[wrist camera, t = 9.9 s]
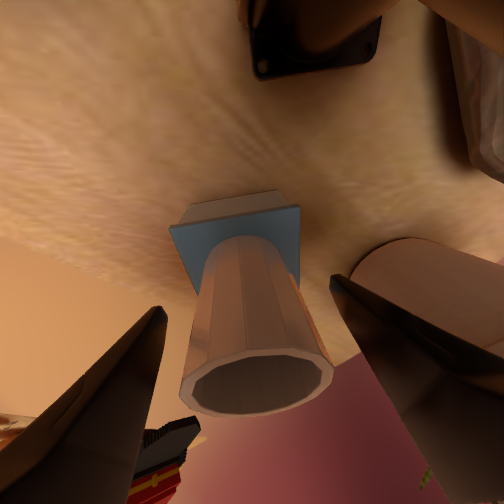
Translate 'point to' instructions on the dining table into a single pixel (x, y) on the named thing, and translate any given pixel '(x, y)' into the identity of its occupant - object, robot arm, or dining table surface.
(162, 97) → the dining table surface
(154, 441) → the toy playset
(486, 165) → the decorative rock
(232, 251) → the beige hollow cylinder
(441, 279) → the potted plant
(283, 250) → the box
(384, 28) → the dining table surface
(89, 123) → the dining table surface
